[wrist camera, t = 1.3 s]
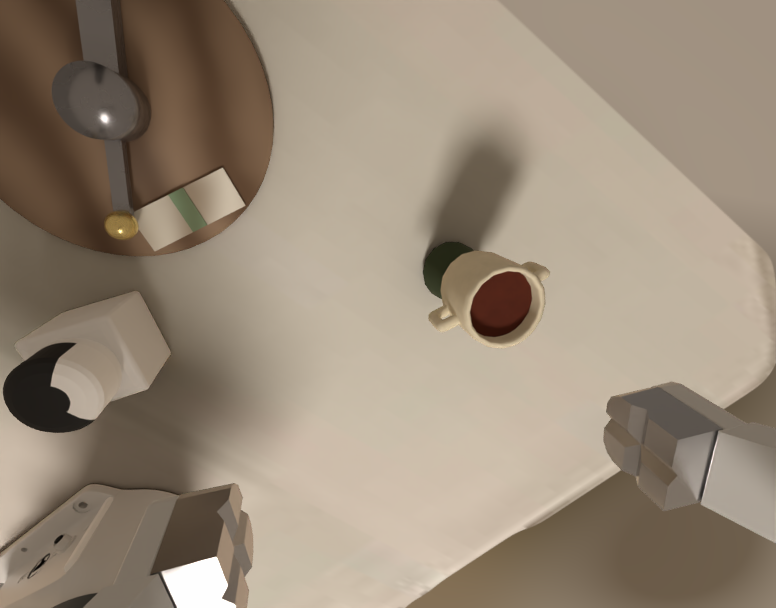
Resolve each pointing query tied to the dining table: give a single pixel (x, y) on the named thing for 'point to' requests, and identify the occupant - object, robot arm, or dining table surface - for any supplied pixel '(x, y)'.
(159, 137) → the stand
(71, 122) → the crank lever
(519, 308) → the character mug
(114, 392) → the medicine bottle
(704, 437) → the robot arm
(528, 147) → the dining table surface
